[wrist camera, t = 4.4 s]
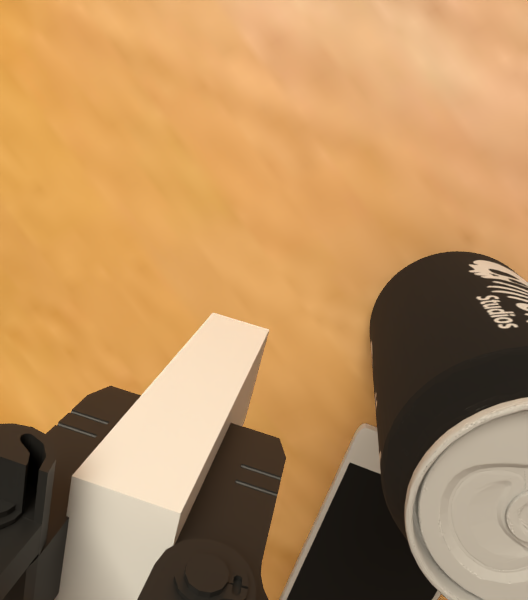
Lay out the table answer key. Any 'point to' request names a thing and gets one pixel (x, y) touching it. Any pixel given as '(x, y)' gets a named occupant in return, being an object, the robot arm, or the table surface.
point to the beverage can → (456, 420)
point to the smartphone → (357, 539)
